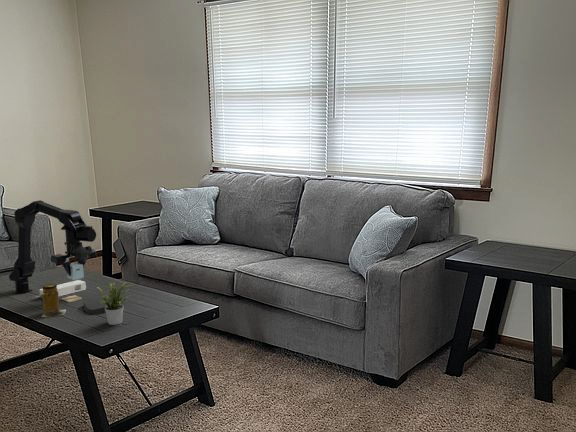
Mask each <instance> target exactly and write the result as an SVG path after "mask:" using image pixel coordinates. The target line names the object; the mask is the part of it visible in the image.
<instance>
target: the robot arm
mask: <svg viewBox="0 0 576 432" xmlns="http://www.w3.org/2000/svg"><path fill="white" fill-rule="evenodd" d="M39 213H42V214H44V215H47V216H49V217H52V218H55V219H57V220H58V222H59V223H61V224H62V225H63V226H62V227H60V230H62V231H64V233H65V241H64V245H65V246H66V247H65V248H66V251H64V254H61V253H57V254H53V255H51V256H50V262H51V263H52V264H53V263H54V264H61V265H62V267H63V268H64V270H65V272H66V275H67V274H68V276H71V270H70V264H72V261H70V259H73V258H74V259H75V258H76V259H77V263H80V264H83V269H84V268H85V265H86V262H87V261H88V260H90V258H91V257H96V256H97V251H96V249H94V248H92V246H91V245H87V246H83V242H89V243H90V242H91V243H92V242H94V241H95V240H96V237H97V232H96V230H95V229H94V228H93V226H92V225H87V223H86V221H85V220H84V218H83V217H82V216H81V213H80V212H79V211H78V210H74V209H73V210H72V209H62V208H61V207H57V206H56V205H52V204H50V203H47V202H45V201H43V200H34V201H32V202H30V203H29V204H26V205H25V206H23V207H19V208H17V209H16V210H14V222H15V223H16V225H17V227H18V239H17V240H18V247H17V248H18V250H17V251H18V252H17V254H18V255H17V258H16V260H15V262H14V265H13V268H12V269H13V270H12V271H11V272H10V274H9V275H8V278H9V280H10V281H12V282H14V289H12V293H15V294H18V295H20V294H25V293H28V292H32V291H33V289H32V288H30V285H29V284H30V283H29V278H32V277H33V273H34V272H35V270H36V261H35V260H33V259H32V258H31V241H32V239H31V237H32V226H33V224H34V222H35V220H36V216H37V215H38V214H39Z"/></svg>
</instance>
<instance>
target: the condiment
mask: <svg viewBox="0 0 576 432" xmlns="http://www.w3.org/2000/svg"><path fill="white" fill-rule="evenodd" d="M57 285H58V284H55V283H48V284H44V285H43V286H42V289H43V293H42V297H43V298H42V306H43V308H42V309H43V314H42V315H41V318H47V317H48V318H49V317H50V318H51V317H56V316H58V317H59V316H65V314H66V311H67V309H61V308H60V296H59V295H58V291H57Z"/></svg>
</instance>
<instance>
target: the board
mask: <svg viewBox="0 0 576 432" xmlns="http://www.w3.org/2000/svg"><path fill="white" fill-rule="evenodd" d="M82 299H83V297H80V296H78V295H70V296H65V297H62V298H61V300H62V301H64V302H66V303H73V302H75V301H79V300H82Z"/></svg>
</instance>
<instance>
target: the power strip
mask: <svg viewBox="0 0 576 432" xmlns="http://www.w3.org/2000/svg"><path fill="white" fill-rule="evenodd" d="M56 285H57V291H58V295H59V297H61V296H65V295H70V294H74V293H76V292H81V291H85V290H87V284H86V281H84V280H81V279H76V280H72V281H67V282H65V283H60V284H56ZM42 293H43V288H40V289H39V295H36V296H32V297H29V298H28V300H29V301H34V300H38V299H43V297H42Z"/></svg>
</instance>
